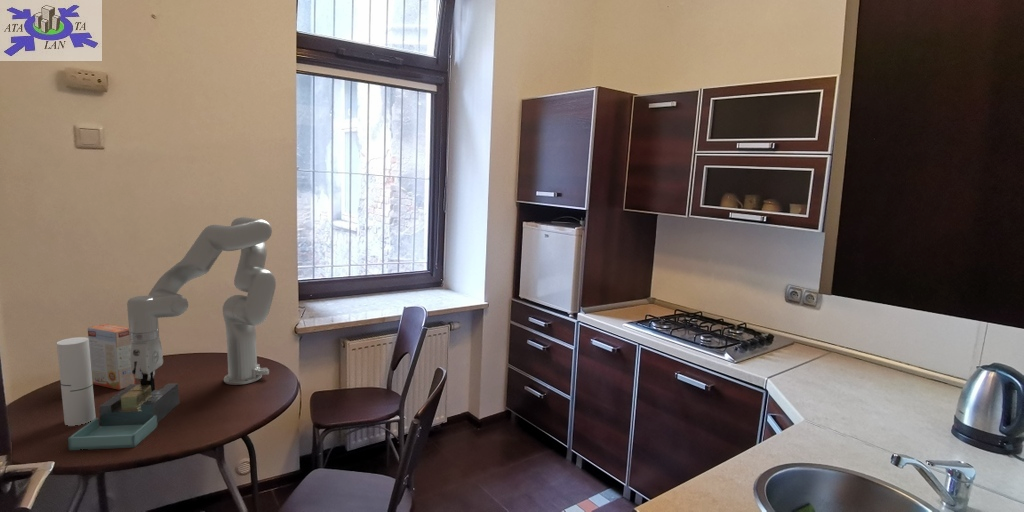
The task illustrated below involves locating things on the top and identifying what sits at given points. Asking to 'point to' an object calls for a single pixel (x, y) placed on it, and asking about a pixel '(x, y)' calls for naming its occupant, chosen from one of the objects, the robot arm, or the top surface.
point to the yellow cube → (132, 400)
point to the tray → (110, 435)
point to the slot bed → (154, 406)
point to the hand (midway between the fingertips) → (148, 391)
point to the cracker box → (110, 356)
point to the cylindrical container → (76, 380)
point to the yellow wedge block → (144, 388)
